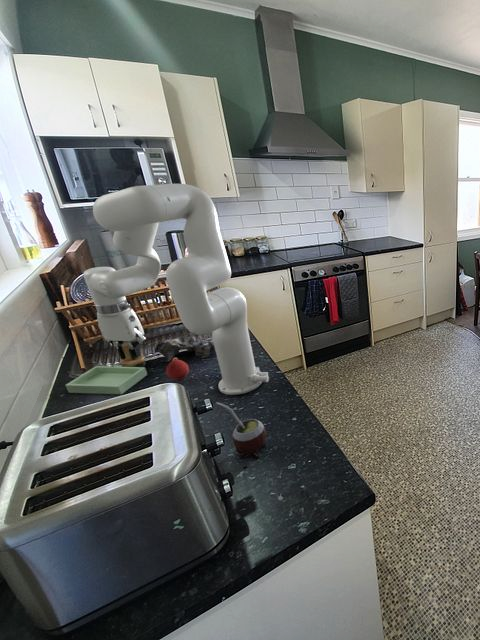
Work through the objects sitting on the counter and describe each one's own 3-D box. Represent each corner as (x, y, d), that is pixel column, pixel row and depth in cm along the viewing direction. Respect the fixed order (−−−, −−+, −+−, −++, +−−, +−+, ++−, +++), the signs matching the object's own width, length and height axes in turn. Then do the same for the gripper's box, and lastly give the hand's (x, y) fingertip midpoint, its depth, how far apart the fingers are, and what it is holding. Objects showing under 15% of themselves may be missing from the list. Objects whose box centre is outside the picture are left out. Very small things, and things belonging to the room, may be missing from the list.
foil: (201, 357, 117) (159, 333, 114) (192, 377, 122) (151, 355, 119) (222, 339, 127) (184, 318, 125) (213, 359, 132) (176, 338, 129)
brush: (151, 361, 120) (143, 339, 116) (137, 371, 114) (128, 349, 110) (132, 360, 120) (124, 339, 116) (117, 371, 114) (108, 348, 110)
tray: (147, 374, 113) (145, 367, 112) (121, 394, 103) (118, 386, 102) (99, 373, 112) (96, 365, 111) (68, 392, 103) (65, 385, 102)
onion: (180, 386, 108) (173, 364, 104) (165, 383, 109) (157, 361, 105) (195, 376, 113) (189, 354, 109) (180, 373, 114) (173, 352, 110)
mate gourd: (273, 452, 85) (263, 403, 79) (239, 469, 80) (225, 418, 74) (261, 435, 90) (251, 388, 83) (228, 451, 85) (215, 402, 78)
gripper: (147, 303, 111) (163, 352, 119) (96, 301, 111) (116, 351, 119) (129, 312, 104) (147, 364, 112) (75, 310, 104) (97, 362, 112)
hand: (131, 357), depth 115 cm, fingers closed on brush, 2 cm apart
